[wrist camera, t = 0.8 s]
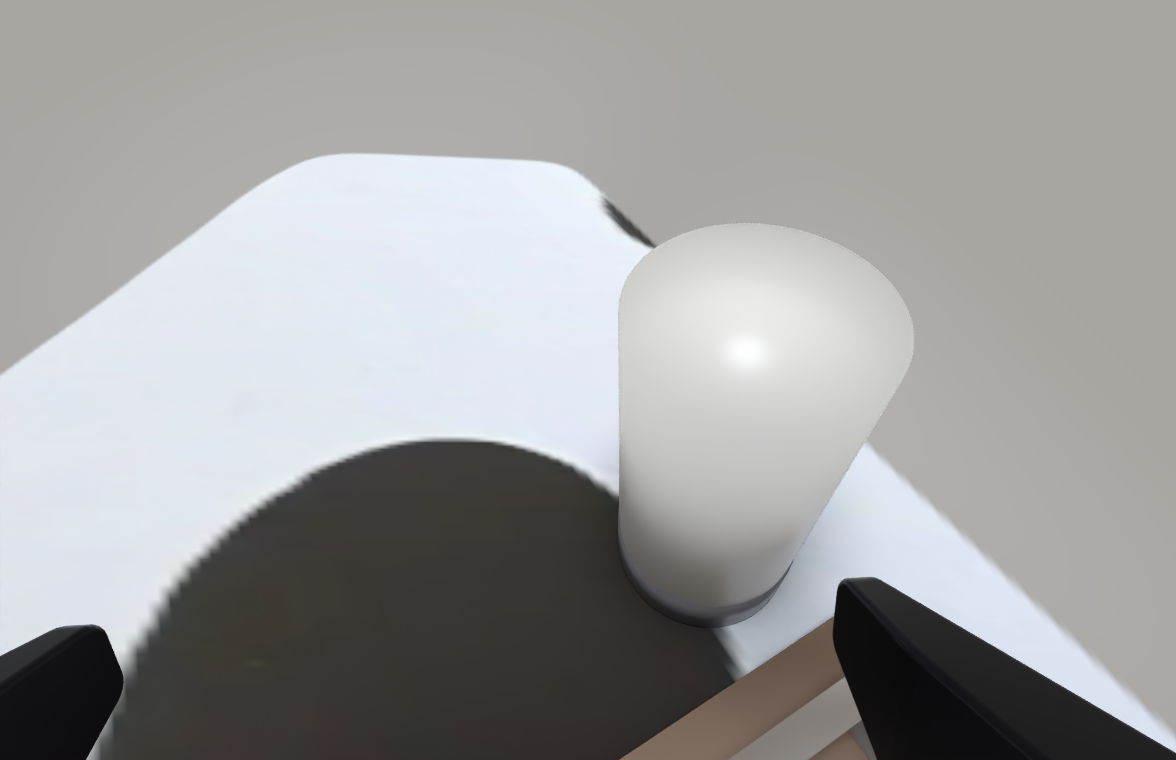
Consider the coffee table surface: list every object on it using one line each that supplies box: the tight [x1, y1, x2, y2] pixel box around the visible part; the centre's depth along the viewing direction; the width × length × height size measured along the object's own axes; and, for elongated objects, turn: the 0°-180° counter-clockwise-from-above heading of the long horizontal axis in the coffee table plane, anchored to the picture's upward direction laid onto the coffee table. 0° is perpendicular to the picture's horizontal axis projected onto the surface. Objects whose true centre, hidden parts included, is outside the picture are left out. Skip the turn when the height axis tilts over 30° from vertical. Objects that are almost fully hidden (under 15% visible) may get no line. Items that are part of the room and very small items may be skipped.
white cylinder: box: [618, 223, 914, 628], centre depth 17 cm, size 6×6×12 cm
